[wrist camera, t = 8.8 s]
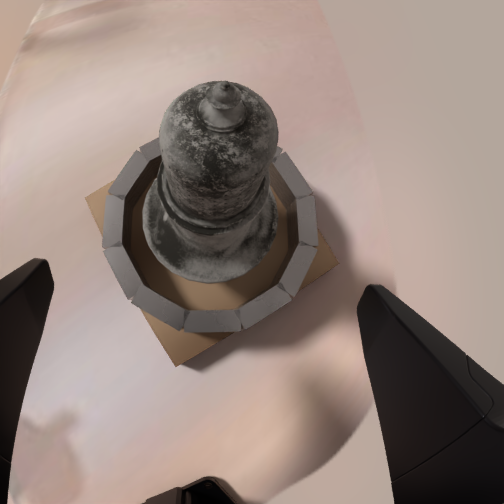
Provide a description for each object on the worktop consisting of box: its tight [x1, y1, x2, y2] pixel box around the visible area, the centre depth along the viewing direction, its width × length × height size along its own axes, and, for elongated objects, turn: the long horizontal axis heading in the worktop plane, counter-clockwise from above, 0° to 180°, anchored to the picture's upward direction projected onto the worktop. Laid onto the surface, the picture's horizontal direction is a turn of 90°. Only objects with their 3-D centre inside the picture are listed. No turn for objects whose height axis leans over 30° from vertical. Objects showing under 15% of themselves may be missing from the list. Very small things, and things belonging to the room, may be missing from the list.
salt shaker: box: [142, 81, 278, 284], centre depth 11 cm, size 6×6×12 cm
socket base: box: [85, 138, 339, 367], centre depth 16 cm, size 11×11×3 cm
